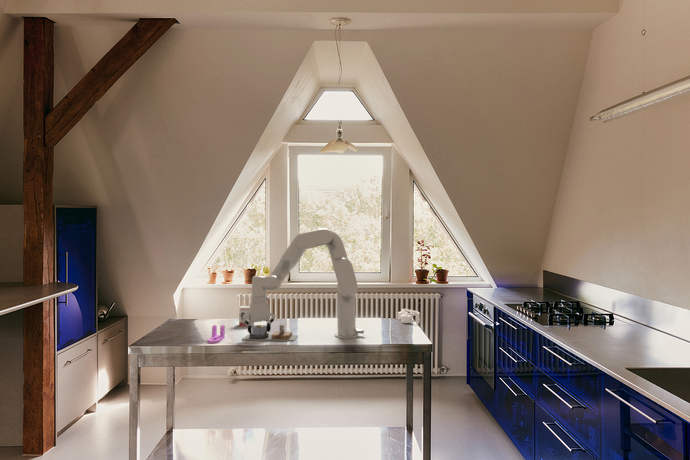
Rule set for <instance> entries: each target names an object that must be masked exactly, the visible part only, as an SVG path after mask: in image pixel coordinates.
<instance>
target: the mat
mask: <svg viewBox="0 0 690 460" xmlns="http://www.w3.org/2000/svg"><path fill="white" fill-rule="evenodd" d="M271 335H272V334H269V337H268V338H265V339H251V338H249V334H246V335H245V336H243V338H241V341H257V342H258V341H263V342H264V341H268V342H273V341H274V342H295V341H296V340H297V338H298V337H299V335H296V334H295V335H293V334H292V336H291V338H290V339H271Z"/></svg>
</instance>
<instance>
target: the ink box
mask: <svg viewBox="0 0 690 460" xmlns="http://www.w3.org/2000/svg"><path fill="white" fill-rule="evenodd" d="M238 307H239V309H238V310H239V313H238V318H239V319H238V322H239V323H238V326H239V327H248V325H247V324H246V323H245V322H244V320H243V317H244V316H246V315H248V314H249V307H250V305H240V306H238ZM246 320H247V322H249V321H250V320H249V317H248V318H247V319H246ZM251 326H255V322H253V323H252V324H251Z"/></svg>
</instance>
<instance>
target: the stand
mask: <svg viewBox="0 0 690 460" xmlns="http://www.w3.org/2000/svg"><path fill="white" fill-rule="evenodd" d="M270 335H271V339H290V338H291V336H292V335H293V331H285V324H279V331H274V332H273V333H272V334H270Z"/></svg>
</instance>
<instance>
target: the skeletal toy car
mask: <svg viewBox="0 0 690 460" xmlns="http://www.w3.org/2000/svg"><path fill="white" fill-rule="evenodd" d="M420 314H421V313H420V312H419V311H418V310H413V309H408V308H401V311H397V320H400V322H401V323H402V324H411V322H413V321H414V316H415V317H416V325H419V324H420ZM411 319H413V320H411Z"/></svg>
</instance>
